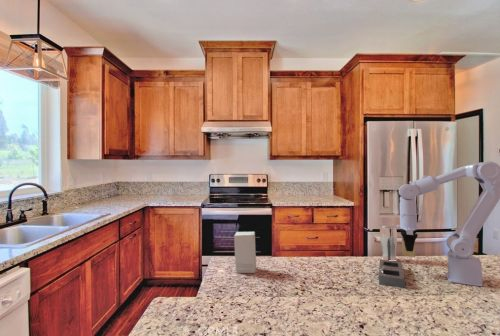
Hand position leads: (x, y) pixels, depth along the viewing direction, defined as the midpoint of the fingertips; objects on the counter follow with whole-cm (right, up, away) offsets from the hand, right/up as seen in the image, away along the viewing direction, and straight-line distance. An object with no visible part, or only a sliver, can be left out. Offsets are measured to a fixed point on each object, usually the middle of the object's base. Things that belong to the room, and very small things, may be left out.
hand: (409, 249), depth 105 cm
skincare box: (-64, -11, +6) cm, 65 cm away
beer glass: (+1, -10, +17) cm, 19 cm away
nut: (0, -2, 0) cm, 2 cm away
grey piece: (-8, -10, -2) cm, 13 cm away
